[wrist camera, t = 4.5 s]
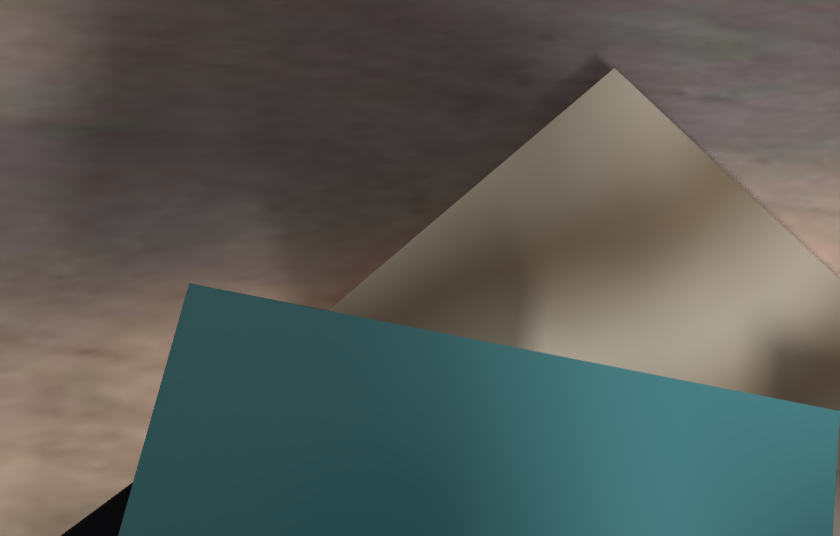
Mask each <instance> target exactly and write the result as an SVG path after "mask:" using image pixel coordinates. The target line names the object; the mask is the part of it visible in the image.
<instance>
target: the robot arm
mask: <svg viewBox="0 0 840 536" xmlns="http://www.w3.org/2000/svg"><path fill="white" fill-rule="evenodd" d="M132 485H133V483H131V484H130V485H129V486H127V487H126V488H125V489H123V490H122V491H121V492H119V493H118V494H117V495H115V496H114V497H112V498H111V499H110V500H108V501H107V502H106V503H104V504H103V505H102V506H100V507H99V508H98V509H96V510H95V511H93V512H92V513H91V514H89V515H88V516H87V517H85V518H84V519H83V520H81V521H80V522H79V523H77V524H76V525H75V526H73V527H72V528H70V529H69V530H68V531H66V532H65V533H64V534H62V535H61V536H118V534H119V531H120V527H121V524H122V520H123V517H124V513H125V510H126V506H127V503H128V499H129V495H130V492H131V488H132Z"/></svg>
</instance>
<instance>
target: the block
mask: <svg viewBox="0 0 840 536" xmlns="http://www.w3.org/2000/svg"><path fill="white" fill-rule="evenodd" d="M833 536H840V469H837V472H836V489H835V505H834V522H833Z"/></svg>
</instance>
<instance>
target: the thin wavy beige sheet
mask: <svg viewBox="0 0 840 536" xmlns="http://www.w3.org/2000/svg"><path fill="white" fill-rule="evenodd" d="M328 311H333V312H338V313H343V314H348V315H353V316H358V317H363V318H368V319H373V320H378V321H384V322H389V323H394V324H399V325H404V326H409V327H414V328H419V329H424V330H429V331H434V332H440V333H445V334H450V335H455V336H460V337H465V338H470V339H475V340H480V341H485V342H491V343H496V344H501V345H506V346H511V347H516V348H521V349H526V350H531V351H536V352H541V353H547V354H552V355H557V356H562V357H567V358H572V359H577V360H582V361H587V362H592V363H598V364H603V365H608V366H613V367H618V368H623V369H628V370H633V371H638V372H643V373H649V374H654V375H659V376H664V377H669V378H674V379H679V380H684V381H689V382H694V383H699V384H705V385H710V386H715V387H720V388H725V389H730V390H735V391H740V392H745V393H750V394H756V395H761V396H766V397H771V398H776V399H781V400H786V401H791V402H796V403H801V404H807V405H812V406H817V407H822V408H827V409H832V410H837V411H840V279H839V278H838V277H837V276H836V275H835V274H834V273H833V272H832V271H831V270H829V269H828V268H827V267H826V266H825V265H824V264H823V263H822V262H821V261H820V260H819V259H818V258H817V257H816V256H814V255H813V254H812V253H811V252H810V251H809V250H808V249H807V248H806V247H805V246H804V245H803V244H802V243H801V242H800V241H798V240H797V239H796V238H795V237H794V236H793V235H792V234H791V233H790V232H789V231H788V230H787V229H786V228H785V227H784V226H782V225H781V224H780V223H779V222H778V221H777V220H776V219H775V218H774V217H773V216H772V215H771V214H770V213H769V212H768V211H766V210H765V209H764V208H763V207H762V206H761V205H760V204H759V203H758V202H757V201H756V200H755V199H754V198H753V197H752V196H750V195H749V194H748V193H747V192H746V191H745V190H744V189H743V188H742V187H741V186H740V185H739V184H738V183H737V182H736V181H734V180H733V179H732V178H731V177H730V176H729V175H728V174H727V173H726V172H725V171H724V170H723V169H722V168H721V167H720V166H718V165H717V164H716V163H715V162H714V161H713V160H712V159H711V158H710V157H709V156H708V155H707V154H706V153H705V152H704V151H702V150H701V149H700V148H699V147H698V146H697V145H696V144H695V143H694V142H693V141H692V140H691V139H690V138H689V137H688V136H686V135H685V134H684V133H683V132H682V131H681V130H680V129H679V128H678V127H677V126H676V125H675V124H674V123H673V122H672V121H670V120H669V119H668V118H667V117H666V116H665V115H664V114H663V113H662V112H661V111H660V110H659V109H658V108H657V107H656V106H654V105H653V104H652V103H651V102H650V101H649V100H648V99H647V98H646V97H645V96H644V95H643V94H642V93H641V92H640V91H638V90H637V89H636V88H635V87H634V86H633V85H632V84H631V83H630V82H629V81H628V80H627V79H626V78H625V77H623V76H622V75H621V74H620V73H619V72H618V71H617V70H616V69H615V68H614V69H613V70H611V71H610V72H609V73H608V74H607V75H606V76H604V77H603V78H602V79H601V80H600V81H598V82H597V83H596V84H595V85H594V86H593V87H591V88H590V89H589V90H588V91H587V92H585V93H584V94H583V95H582V96H581V97H580V98H578V99H577V100H576V101H575V102H574V103H573V104H571V105H570V106H569V107H568V108H567V109H565V110H564V111H563V112H562V113H561V114H560V115H558V116H557V117H556V118H555V119H554V120H552V121H551V122H550V123H549V124H548V125H547V126H545V127H544V128H543V129H542V130H541V131H539V132H538V133H537V134H536V135H535V136H534V137H532V138H531V139H530V140H529V141H528V142H526V143H525V144H524V145H523V146H522V147H521V148H519V149H518V150H517V151H516V152H515V153H513V154H512V155H511V156H510V157H509V158H508V159H506V160H505V161H504V162H503V163H502V164H500V165H499V166H498V167H497V168H496V169H495V170H493V171H492V172H491V173H490V174H489V175H487V176H486V177H485V178H484V179H483V180H482V181H480V182H479V183H478V184H477V185H476V186H475V187H473V188H472V189H471V190H470V191H469V192H467V193H466V194H465V195H464V196H463V197H462V198H460V199H459V200H458V201H457V202H456V203H454V204H453V205H452V206H451V207H450V208H449V209H447V210H446V211H445V212H444V213H443V214H441V215H440V216H439V217H438V218H437V219H436V220H434V221H433V222H432V223H431V224H430V225H428V226H427V227H426V228H425V229H424V230H423V231H421V232H420V233H419V234H418V235H417V236H415V237H414V238H413V239H412V240H411V241H410V242H408V243H407V244H406V245H405V246H404V247H402V248H401V249H400V250H399V251H398V252H397V253H395V254H394V255H393V256H392V257H391V258H389V259H388V260H387V261H386V262H385V263H384V264H382V265H381V266H380V267H379V268H378V269H377V270H375V271H374V272H373V273H372V274H371V275H369V276H368V277H367V278H366V279H365V280H364V281H362V282H361V283H360V284H359V285H358V286H356V287H355V288H354V289H353V290H352V291H351V292H349V293H348V294H347V295H346V296H345V297H343V298H342V299H341V300H340V301H339V302H338V303H336V304H335V305H334V306H333V307H332V308H330V309H329V310H328ZM837 469H840V421H839V438H838V455H837Z"/></svg>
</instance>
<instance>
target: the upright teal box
mask: <svg viewBox="0 0 840 536" xmlns="http://www.w3.org/2000/svg"><path fill="white" fill-rule="evenodd" d="M839 421H840V411H837V410H832V409H827V408H822V407H817V406H812V405H807V404H801V403H796V402H791V401H786V400H781V399H776V398H771V397H766V396H761V395H756V394H750V393H745V392H740V391H735V390H730V389H725V388H720V387H715V386H710V385H705V384H699V383H694V382H689V381H684V380H679V379H674V378H669V377H664V376H659V375H654V374H649V373H643V372H638V371H633V370H628V369H623V368H618V367H613V366H608V365H603V364H598V363H592V362H587V361H582V360H577V359H572V358H567V357H562V356H557V355H552V354H547V353H541V352H536V351H531V350H526V349H521V348H516V347H511V346H506V345H501V344H496V343H491V342H485V341H480V340H475V339H470V338H465V337H460V336H455V335H450V334H445V333H440V332H434V331H429V330H424V329H419V328H414V327H409V326H404V325H399V324H394V323H389V322H384V321H378V320H373V319H368V318H363V317H358V316H353V315H348V314H343V313H338V312H333V311H327V310H322V309H317V308H312V307H307V306H302V305H297V304H292V303H287V302H282V301H276V300H271V299H266V298H261V297H256V296H251V295H246V294H241V293H236V292H231V291H226V290H220V289H215V288H210V287H205V286H200V285H195V284H190V283H189V286H188V290H187V293H186V297H185V300H184V304H183V307H182V311H181V315H180V318H179V322H178V325H177V329H176V332H175V336H174V339H173V343H172V346H171V350H170V354H169V357H168V361H167V364H166V368H165V371H164V375H163V378H162V382H161V385H160V389H159V393H158V396H157V400H156V403H155V407H154V410H153V414H152V417H151V421H150V424H149V428H148V432H147V435H146V439H145V442H144V446H143V449H142V453H141V456H140V460H139V464H138V467H137V471H136V474H135V478H134V481H133V485H132V488H131V492H130V495H129V499H128V503H127V506H126V510H125V513H124V517H123V520H122V524H121V527H120V531H119V534H118V536H833V522H834V505H835V489H836V472H837V455H838V438H839Z"/></svg>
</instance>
